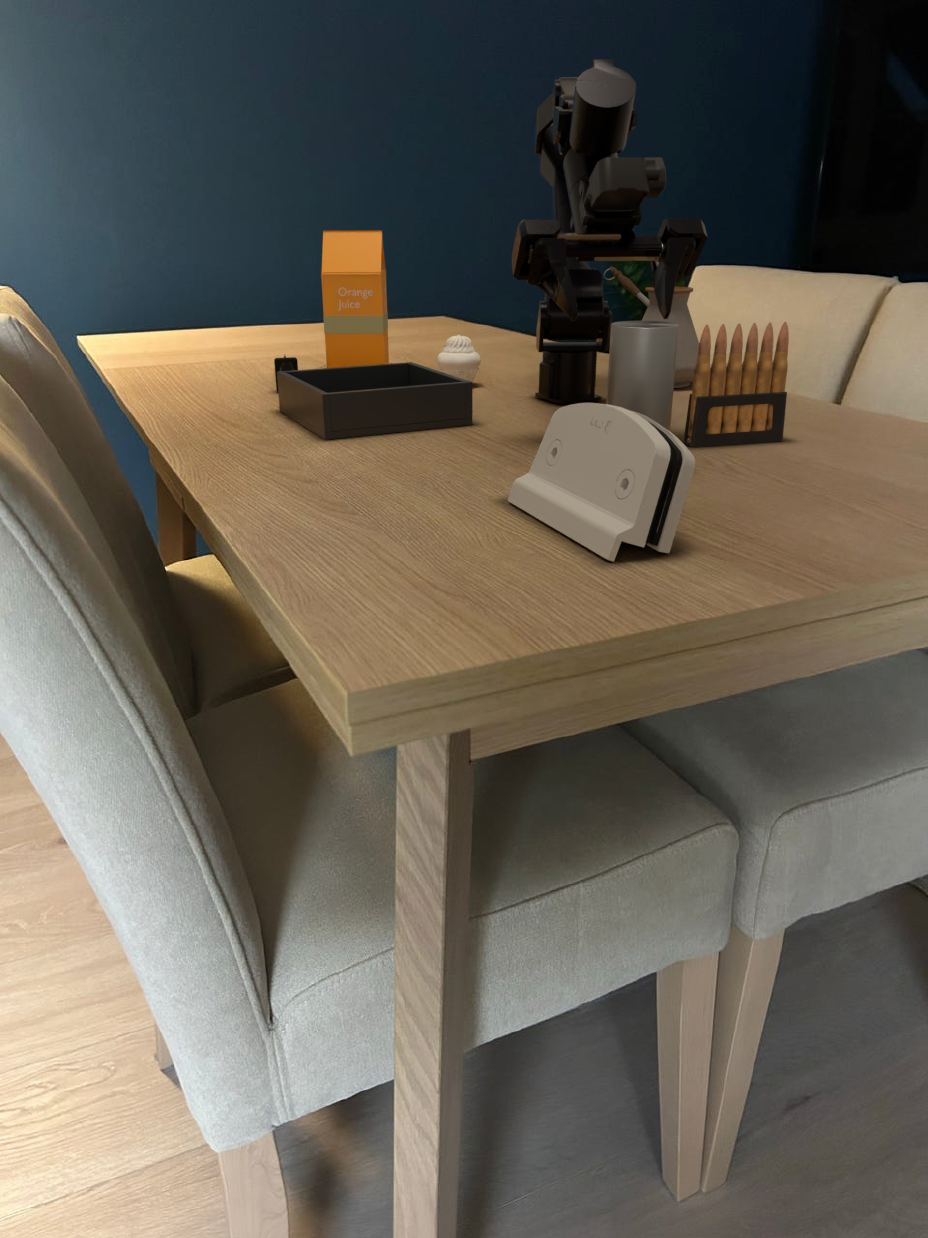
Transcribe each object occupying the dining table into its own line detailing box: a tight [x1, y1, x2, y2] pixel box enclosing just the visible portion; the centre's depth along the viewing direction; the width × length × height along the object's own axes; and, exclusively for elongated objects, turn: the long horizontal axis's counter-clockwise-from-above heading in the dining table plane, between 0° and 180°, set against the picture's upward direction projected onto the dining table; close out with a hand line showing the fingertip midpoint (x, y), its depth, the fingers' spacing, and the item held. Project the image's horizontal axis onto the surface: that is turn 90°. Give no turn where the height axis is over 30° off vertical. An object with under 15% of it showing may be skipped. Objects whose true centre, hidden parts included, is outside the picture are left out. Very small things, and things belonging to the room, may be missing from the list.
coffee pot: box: [603, 265, 700, 389], centre depth 133 cm, size 21×12×15 cm, turn 24°
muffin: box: [436, 333, 482, 383], centre depth 130 cm, size 6×6×7 cm
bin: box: [277, 361, 474, 441], centre depth 110 cm, size 18×18×5 cm
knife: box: [273, 354, 299, 392], centre depth 129 cm, size 31×3×4 cm, turn 8°
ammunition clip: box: [682, 321, 790, 448], centre depth 96 cm, size 11×2×12 cm, turn 105°
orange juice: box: [320, 229, 390, 368], centre depth 140 cm, size 8×9×20 cm
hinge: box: [507, 402, 696, 563], centre depth 71 cm, size 17×5×10 cm, turn 23°
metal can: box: [605, 320, 679, 432], centre depth 87 cm, size 6×6×13 cm
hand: (621, 316), depth 90 cm, fingers open, 9 cm apart
